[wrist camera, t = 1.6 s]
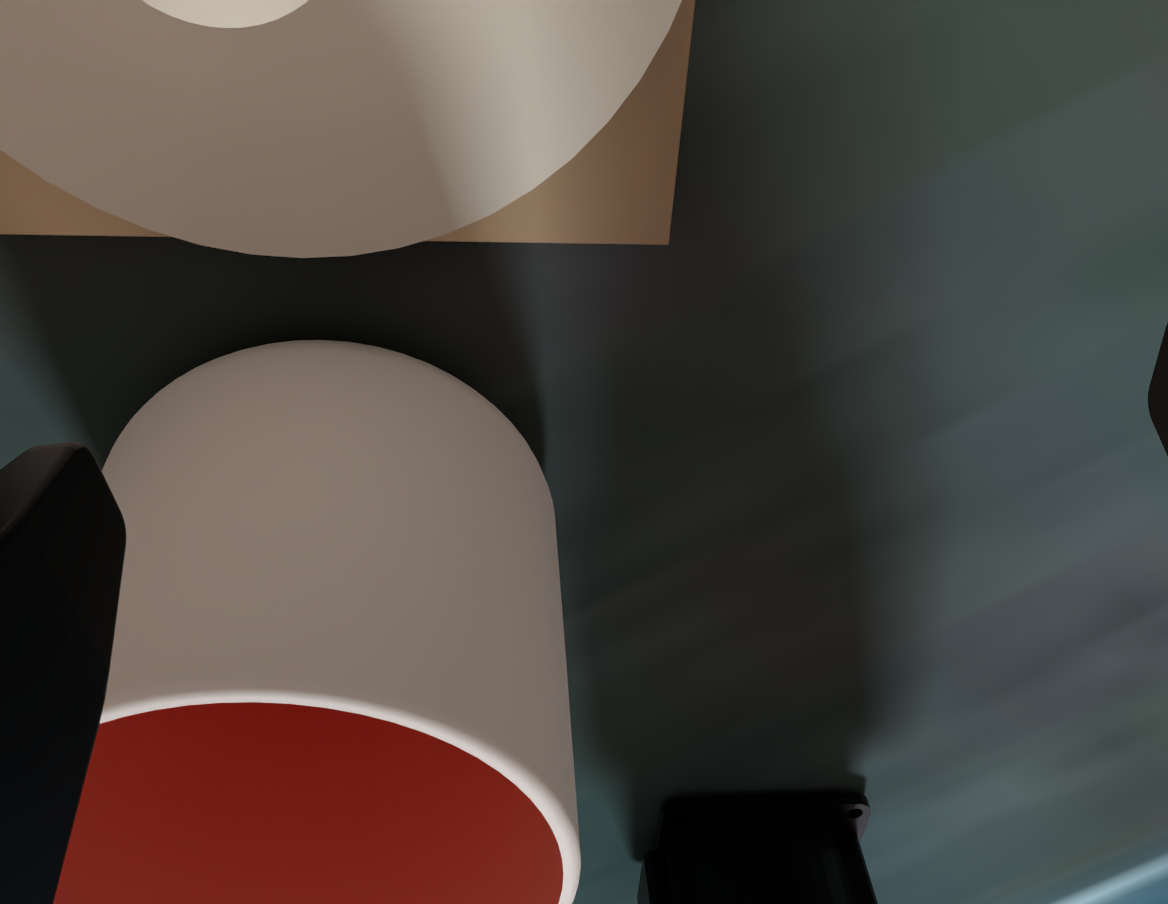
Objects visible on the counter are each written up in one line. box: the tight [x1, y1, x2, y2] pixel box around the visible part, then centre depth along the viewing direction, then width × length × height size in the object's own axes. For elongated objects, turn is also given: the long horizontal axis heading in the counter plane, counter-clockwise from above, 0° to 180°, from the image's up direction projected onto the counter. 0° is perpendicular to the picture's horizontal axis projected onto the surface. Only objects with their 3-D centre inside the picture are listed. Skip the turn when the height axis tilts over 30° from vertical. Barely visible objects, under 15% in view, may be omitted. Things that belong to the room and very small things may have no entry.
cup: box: [53, 340, 581, 904], centre depth 22 cm, size 10×10×10 cm
